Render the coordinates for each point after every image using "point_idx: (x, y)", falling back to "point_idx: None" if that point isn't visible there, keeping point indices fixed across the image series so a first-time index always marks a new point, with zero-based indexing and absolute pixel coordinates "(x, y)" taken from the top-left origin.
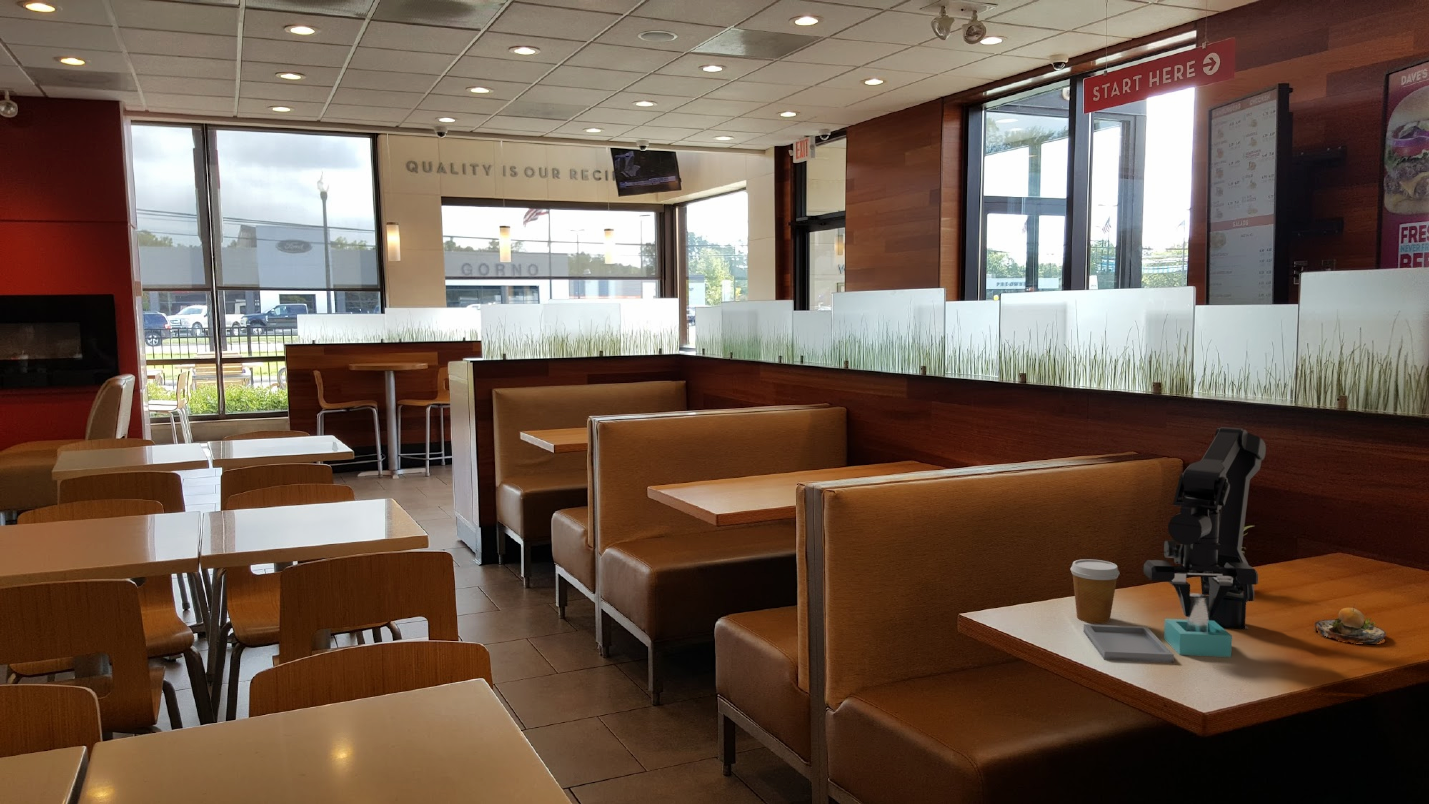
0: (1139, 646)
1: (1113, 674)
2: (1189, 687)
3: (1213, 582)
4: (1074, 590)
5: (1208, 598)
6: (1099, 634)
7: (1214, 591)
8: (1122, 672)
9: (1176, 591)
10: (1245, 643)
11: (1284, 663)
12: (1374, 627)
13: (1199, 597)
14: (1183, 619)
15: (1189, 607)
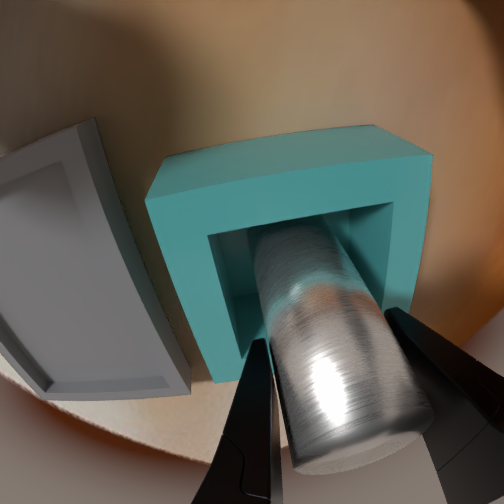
0: (86, 315)
1: (87, 417)
2: (218, 433)
3: (496, 488)
4: None
5: (404, 444)
6: None
7: (455, 462)
8: (97, 410)
9: (205, 480)
10: (471, 106)
11: (476, 262)
12: None
13: (355, 461)
14: (264, 174)
15: (278, 422)
